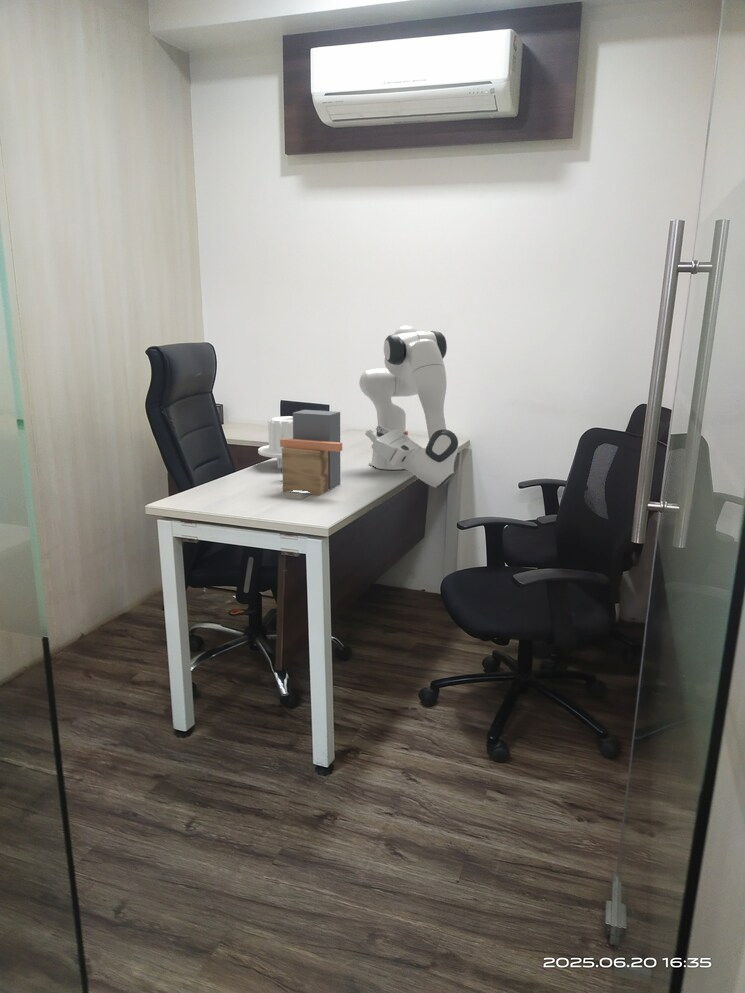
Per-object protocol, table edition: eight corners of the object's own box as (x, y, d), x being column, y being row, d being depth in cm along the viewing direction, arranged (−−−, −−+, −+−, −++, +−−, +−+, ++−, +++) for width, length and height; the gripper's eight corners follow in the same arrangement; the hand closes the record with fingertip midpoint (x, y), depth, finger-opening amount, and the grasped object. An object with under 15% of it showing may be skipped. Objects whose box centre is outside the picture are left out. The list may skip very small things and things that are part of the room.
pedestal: (305, 480, 258) (304, 409, 252) (340, 483, 254) (340, 411, 247) (294, 485, 250) (292, 412, 244) (330, 489, 245) (329, 415, 239)
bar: (283, 445, 244) (283, 438, 243) (342, 450, 236) (342, 442, 236) (280, 446, 241) (280, 439, 241) (339, 451, 234) (339, 444, 233)
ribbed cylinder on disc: (319, 458, 297) (318, 414, 292) (323, 471, 273) (323, 423, 268) (259, 460, 293) (257, 414, 289) (258, 473, 269) (256, 424, 265)
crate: (292, 486, 249) (291, 444, 245) (328, 490, 244) (328, 447, 240) (282, 491, 243) (281, 448, 239) (319, 495, 238) (319, 451, 234)
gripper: (421, 439, 235) (387, 416, 238) (401, 451, 217) (365, 426, 219) (411, 454, 238) (378, 431, 240) (391, 467, 220) (355, 442, 222)
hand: (372, 429), depth 230 cm, fingers open, 8 cm apart
